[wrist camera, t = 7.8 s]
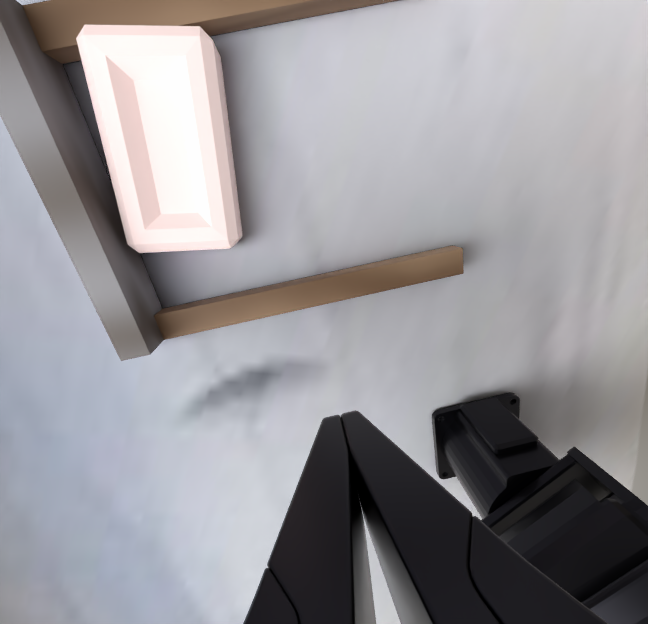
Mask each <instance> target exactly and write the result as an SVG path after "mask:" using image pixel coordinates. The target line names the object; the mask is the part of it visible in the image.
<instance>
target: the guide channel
mask: <svg viewBox="0 0 648 624" xmlns="http://www.w3.org/2000/svg"><path fill="white" fill-rule="evenodd" d="M392 1H397V0H50V1H44V2H39V3H33V4H28V5H21V4H20V3H18V2H17V1H16V0H0V116H1V118H2V120H3V122H4V124H5V126H6V128H7V130H8V132H9V134H10V136H11V138H12V140H13V142H14V144H15V146H16V148H17V150H18V152H19V154H20V157H21V159H22V161H23V163H24V165H25V167H26V169H27V171H28V173H29V175H30V177H31V179H32V181H33V183H34V185H35V187H36V189H37V191H38V193H39V195H40V197H41V199H42V201H43V203H44V205H45V207H46V209H47V211H48V213H49V215H50V218H51V220H52V222H53V224H54V226H55V228H56V230H57V232H58V234H59V236H60V238H61V240H62V242H63V244H64V246H65V248H66V250H67V252H68V254H69V256H70V258H71V260H72V262H73V264H74V266H75V268H76V270H77V272H78V274H79V276H80V279H81V281H82V283H83V285H84V287H85V289H86V291H87V293H88V295H89V297H90V299H91V301H92V303H93V305H94V307H95V309H96V311H97V313H98V315H99V317H100V319H101V321H102V323H103V325H104V327H105V329H106V331H107V333H108V335H109V337H110V339H111V342H112V344H113V346H114V348H115V350H116V352H117V354H118V356H119V358H120V360H121V361H123V360H128V359H132V358H136V357H141V356H145V355H150V354H151V353H152V352H153V351H154V350H155V349H156V348H157V347H158V346H159V345H160V343H161V342H162V341H163V340H165V339H170V338H174V337H179V336H183V335H188V334H192V333H197V332H201V331H206V330H210V329H215V328H219V327H224V326H228V325H233V324H238V323H242V322H247V321H251V320H256V319H260V318H265V317H269V316H274V315H278V314H283V313H287V312H292V311H296V310H301V309H305V308H310V307H314V306H319V305H323V304H328V303H332V302H337V301H341V300H346V299H350V298H355V297H359V296H364V295H368V294H373V293H377V292H382V291H386V290H391V289H395V288H400V287H404V286H409V285H414V284H418V283H423V282H427V281H432V280H436V279H441V278H445V277H450V276H454V275H459V274H463V248H460V247H456V246H448V247H443V248H438V249H434V250H429V251H425V252H420V253H415V254H411V255H406V256H402V257H397V258H393V259H388V260H383V261H379V262H374V263H370V264H365V265H360V266H356V267H351V268H347V269H342V270H338V271H333V272H328V273H324V274H319V275H315V276H310V277H305V278H301V279H296V280H292V281H287V282H283V283H278V284H273V285H269V286H264V287H260V288H255V289H250V290H246V291H241V292H237V293H232V294H228V295H223V296H218V297H214V298H209V299H205V300H200V301H195V302H191V303H186V304H182V305H177V306H173V307H168V308H163V309H162V307H161V304H160V302H159V299H158V297H157V295H156V292H155V290H154V287H153V285H152V282H151V280H150V277H149V275H148V273H147V270H146V268H145V265H144V263H143V260H142V258H141V255H140V253H138V252H137V251H136V250H134V249H133V248H132V247H130V246H129V245H128V244H127V241H126V237H125V233H124V229H123V225H122V221H121V217H120V213H119V209H118V205H117V201H116V197H115V193H114V189H113V187H112V185H111V182H110V180H109V177H108V175H107V172H106V170H105V167H104V165H103V163H102V160H101V158H100V155H99V153H98V150H97V148H96V145H95V143H94V141H93V138H92V136H91V133H90V131H89V128H88V126H87V123H86V121H85V119H84V116H83V114H82V111H81V109H80V106H79V104H78V101H77V99H76V97H75V94H74V92H73V89H72V87H71V84H70V82H69V79H68V77H67V75H66V72H65V70H64V67H63V65H62V64H65V63H70V62H75V61H80V60H81V56H80V52H79V48H78V44H77V40H76V38H77V36H78V34H79V33H80V31H81V30H82V28H83V26H84V25H146V26H200V27H201V28H202V29H203V30H204V31H205V32H206V33H207V34H208V36H213V35H218V34H223V33H228V32H234V31H239V30H244V29H250V28H255V27H260V26H265V25H271V24H276V23H281V22H287V21H292V20H297V19H302V18H308V17H313V16H318V15H323V14H329V13H334V12H339V11H345V10H350V9H355V8H360V7H366V6H371V5H376V4H382V3H387V2H392Z"/></svg>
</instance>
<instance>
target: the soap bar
mask: <svg viewBox="0 0 648 624" xmlns="http://www.w3.org/2000/svg"><path fill="white" fill-rule="evenodd" d="M76 40H77V44H78V48H79V52H80V56H81V60H82V64H83V68H84V72H85V76H86V80H87V84H88V88H89V92H90V96H91V100H92V104H93V108H94V112H95V116H96V120H97V124H98V129H99V133H100V137H101V141H102V145H103V149H104V153H105V157H106V161H107V165H108V169H109V173H110V177H111V181H112V185H113V189H114V193H115V197H116V201H117V205H118V209H119V213H120V217H121V221H122V225H123V229H124V233H125V237H126V241H127V244H128V245H129V246H130V247H132V248H133V249H134V250H136V251H137V252H138V253H149V252H169V251H189V250H209V249H229V248H232V247H233V246H234V245H236V244H237V242H238V241H239V240H240V239H241V238H242V236H243V234H242V226H241V218H240V210H239V202H238V193H237V185H236V177H235V169H234V161H233V153H232V144H231V136H230V128H229V120H228V112H227V104H226V96H225V87H224V79H223V71H222V63H221V57H220V55H219V53H218V50H217V48H216V46H215V44H214V42H213V40H212V39H211V38H210V37H209V36H208V34H207V33H206V32H205V31H204V30H203V29H202V28H201V27H200V26H146V25H84V26H83V28H82V30H81V31H80V33H79V34H78V36H77V38H76Z"/></svg>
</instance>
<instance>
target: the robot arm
mask: <svg viewBox="0 0 648 624" xmlns="http://www.w3.org/2000/svg"><path fill="white" fill-rule="evenodd" d="M519 404H520V400H519V397H518V396H516V395H515V394H514V393H508V394H503V395H499V396H495V397H491V398H486V399H482V400H478V401H474V402H469V403H465V404H461V405H457V406H453V407H448V408H444V409H440V410H437V411H435V412H434V413H433V414H432V424H433V435H434V447H435V458H436V470H437V474H438V476H439V477H440V478H441V479H447V478H451V477H457V478H458V480H459V481H460V483H461V485H462V486H463V488H464V490H465V491H466V493H467V494H468V496H469V498H470V499H471V501H472V503H473V504H474V506H475V507H476V509H477V511H478V512H479V514H480V516H481V517H482V520H480V519H479V518H478V517H476V516H473V517H472V513H471V512H470V511H469V510H468V509H467V508H466V507H465V506H464V505H463V504H462V503H460V502H459V501H458V500H457V499H456V498H455V497H454V496H453V495H451V494H450V493H449V492H448V491H447V490H446V489H445V488H444V487H443V486H441V485H440V484H439V483H438V482H437V481H436V480H435V479H434V478H432V477H431V476H430V475H429V474H428V473H427V472H426V471H425V470H423V469H422V468H421V467H420V466H419V465H418V464H417V463H416V462H415V461H413V460H412V459H411V458H410V457H409V456H408V455H407V454H406V453H404V452H403V451H402V450H401V449H400V448H399V447H398V446H397V445H396V444H394V443H393V442H392V441H391V440H390V439H389V438H388V437H387V436H385V435H384V434H383V433H382V432H381V431H380V430H379V429H378V428H377V427H375V426H374V425H373V424H372V423H371V422H370V421H369V420H368V419H366V418H365V417H364V416H363V415H362V414H361V413H360V412H358V411H351V412H347V413H343V414H342V415H341V417H340V416H339V415H334V416H330V417H326V418H324V419H323V420H322V422H321V425H320V427H319V430H318V433H317V435H316V438H315V441H314V443H313V446H312V448H311V451H310V454H309V456H308V459H307V461H306V464H305V467H304V469H303V472H302V474H301V477H300V480H299V482H298V485H297V488H296V490H295V493H294V495H293V498H292V501H291V503H290V506H289V508H288V511H287V514H286V516H285V519H284V521H283V524H282V527H281V529H280V532H279V535H278V537H277V540H276V542H275V545H274V548H273V550H272V553H271V555H270V558H269V561H268V564H267V565H268V568H266V569H265V570H264V573H263V576H262V578H261V581H260V584H259V586H258V589H257V591H256V594H255V597H254V599H253V602H252V604H251V606H250V609H249V611H248V614H247V616H246V619H245V621H244V623H243V624H376V618H375V609H374V601H373V593H372V584H371V576H370V567H369V559H368V551H367V542H366V534H365V526H364V520H363V515H364V519H365V522H366V525H367V528H368V531H369V534H370V537H371V539H372V542H373V545H374V548H375V551H376V554H377V556H378V559H379V562H380V565H381V568H382V571H383V574H384V576H385V579H386V582H387V585H388V588H389V591H390V593H391V596H392V599H393V602H394V605H395V608H396V610H397V613H398V616H399V619H400V622H401V624H648V506H647V505H646V504H645V503H644V502H643V501H641V500H640V499H639V498H638V497H637V496H635V495H634V494H633V493H632V492H630V491H629V490H628V489H627V488H625V487H624V486H623V485H622V484H620V483H619V482H618V481H617V480H615V479H614V478H613V477H612V476H610V475H609V474H608V473H607V472H605V471H604V470H603V469H602V468H600V467H599V466H598V465H597V464H596V463H594V462H593V461H592V460H591V459H589V458H588V457H587V456H586V455H584V454H583V453H582V452H581V451H579V450H578V449H577V448H576V447H573V448H572V449H570V450H569V451H568V452H567V453H568V454H567V455H566V456H565V457H563V458H562V459H561V460H559V459H558V458H557V457H556V456H555V455H554V454H553V453H552V452H550V451H549V450H548V449H547V448H546V447H545V446H544V445H543V444H542V443H541V442H540V441H539V440H538V437H537V436H536V435H535V434H534V433H533V432H532V431H531V430H530V429H529V428H528V427H527V426H526V425H525V424H523V423H522V422H521V421H520V420H519ZM440 416H441V417H440ZM439 417H440V418H439ZM357 490H358V491H357ZM359 499H360V500H359ZM360 503H361V504H360ZM361 507H362V509H361ZM362 511H363V514H362Z"/></svg>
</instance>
